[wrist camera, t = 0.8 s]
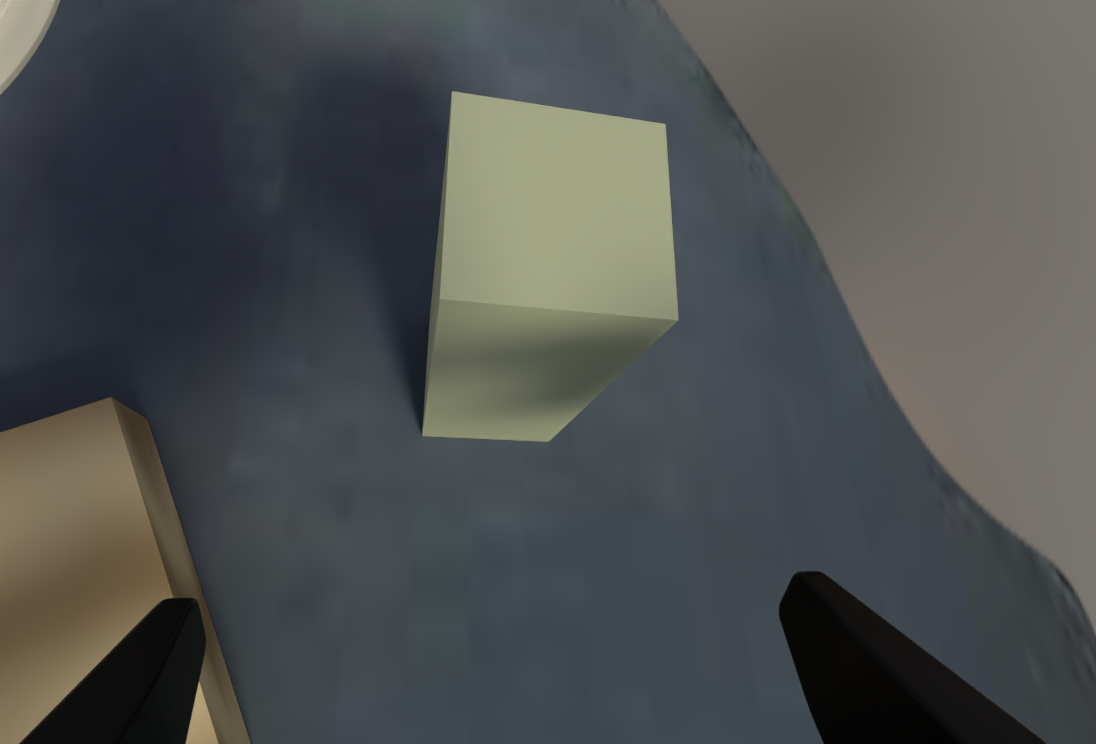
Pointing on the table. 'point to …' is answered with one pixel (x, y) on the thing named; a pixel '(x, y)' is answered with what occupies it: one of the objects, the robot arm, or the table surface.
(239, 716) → the maple base
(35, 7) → the ceiling medallion
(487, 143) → the sage pillar
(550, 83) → the table surface
